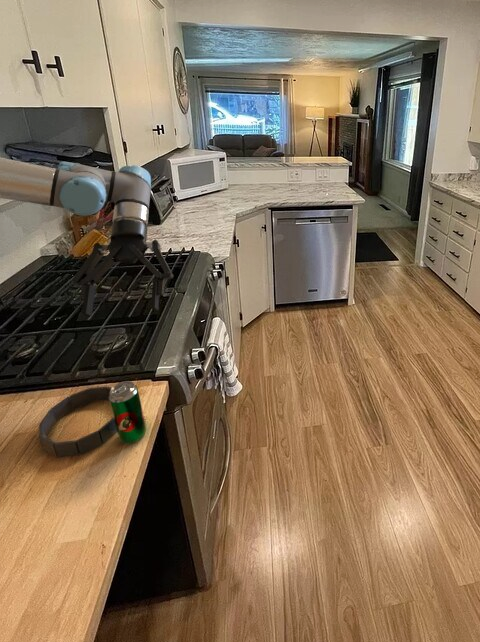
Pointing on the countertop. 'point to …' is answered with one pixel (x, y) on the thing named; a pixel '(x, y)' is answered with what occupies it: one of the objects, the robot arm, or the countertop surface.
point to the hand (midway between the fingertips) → (121, 312)
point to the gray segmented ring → (85, 442)
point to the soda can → (127, 412)
